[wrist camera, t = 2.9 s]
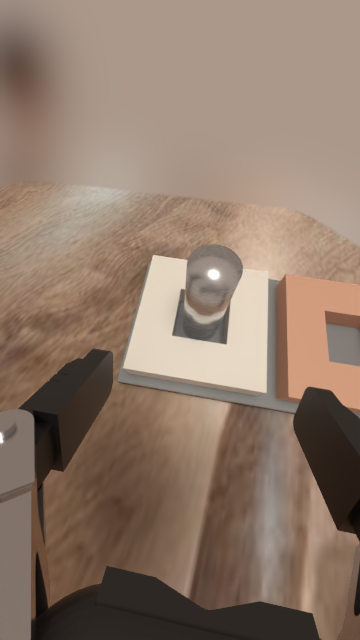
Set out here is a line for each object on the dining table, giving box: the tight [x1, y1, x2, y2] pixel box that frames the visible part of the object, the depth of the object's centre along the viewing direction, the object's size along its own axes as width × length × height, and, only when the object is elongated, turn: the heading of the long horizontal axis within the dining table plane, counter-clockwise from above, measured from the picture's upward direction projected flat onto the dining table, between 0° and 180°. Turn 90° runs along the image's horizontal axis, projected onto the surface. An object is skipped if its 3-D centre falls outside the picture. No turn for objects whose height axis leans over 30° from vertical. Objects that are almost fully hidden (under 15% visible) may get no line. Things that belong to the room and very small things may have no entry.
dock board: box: [117, 255, 360, 418], centre depth 23 cm, size 28×14×4 cm, turn 80°
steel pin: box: [183, 245, 243, 341], centre depth 19 cm, size 4×4×10 cm
